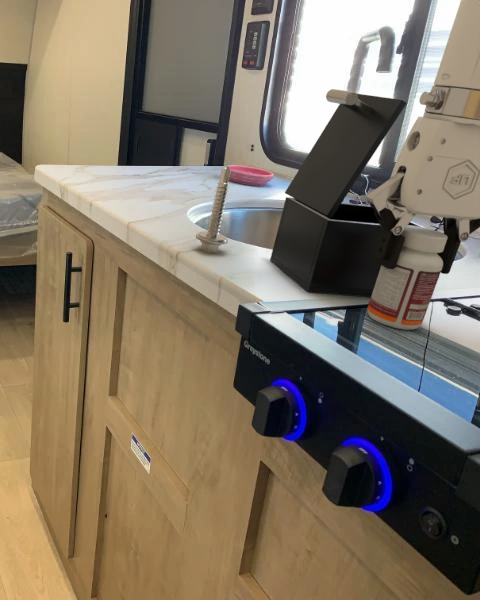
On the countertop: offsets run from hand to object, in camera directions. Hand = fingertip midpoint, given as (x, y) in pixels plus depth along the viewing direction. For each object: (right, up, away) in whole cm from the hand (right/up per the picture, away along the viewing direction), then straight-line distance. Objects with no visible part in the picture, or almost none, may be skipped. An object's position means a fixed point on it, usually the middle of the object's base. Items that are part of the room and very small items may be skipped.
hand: (411, 266), depth 70 cm
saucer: (+4, +27, +85) cm, 90 cm away
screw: (-19, +3, +21) cm, 29 cm away
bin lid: (-4, +15, +8) cm, 18 cm away
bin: (-2, -1, +15) cm, 16 cm away
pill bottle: (-1, -7, +3) cm, 7 cm away
